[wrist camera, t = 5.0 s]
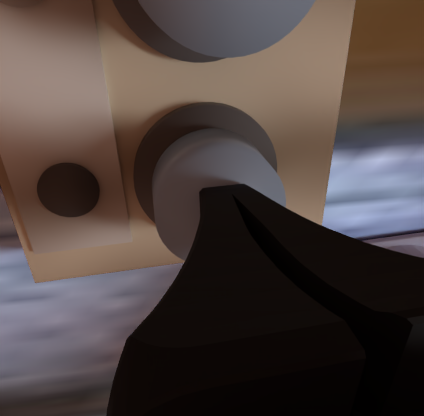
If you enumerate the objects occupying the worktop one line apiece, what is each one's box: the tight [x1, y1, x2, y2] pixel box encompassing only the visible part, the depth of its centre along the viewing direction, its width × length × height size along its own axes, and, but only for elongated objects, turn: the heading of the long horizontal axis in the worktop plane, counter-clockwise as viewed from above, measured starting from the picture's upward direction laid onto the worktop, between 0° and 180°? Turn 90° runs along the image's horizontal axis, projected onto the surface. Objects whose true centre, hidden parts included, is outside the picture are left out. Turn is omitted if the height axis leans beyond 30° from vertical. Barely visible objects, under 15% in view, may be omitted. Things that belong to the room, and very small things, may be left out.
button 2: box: [152, 128, 286, 261], centre depth 12 cm, size 4×4×2 cm
